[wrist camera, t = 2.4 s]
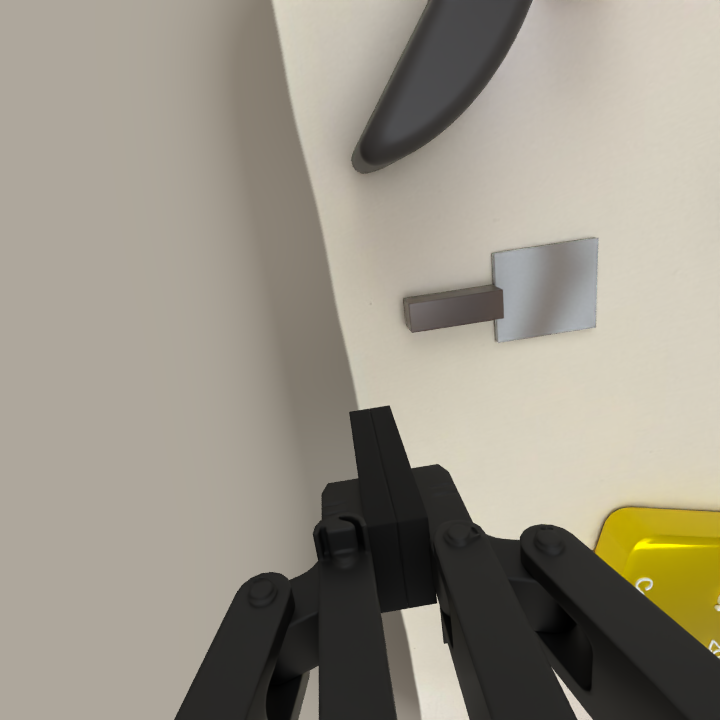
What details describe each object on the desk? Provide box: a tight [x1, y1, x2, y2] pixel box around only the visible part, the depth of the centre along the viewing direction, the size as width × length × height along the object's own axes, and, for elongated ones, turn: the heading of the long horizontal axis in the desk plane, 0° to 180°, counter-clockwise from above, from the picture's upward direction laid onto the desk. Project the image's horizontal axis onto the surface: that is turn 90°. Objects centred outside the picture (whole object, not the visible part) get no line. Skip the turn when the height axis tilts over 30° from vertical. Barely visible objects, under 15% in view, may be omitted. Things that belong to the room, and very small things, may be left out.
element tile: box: [595, 507, 720, 659], centre depth 45 cm, size 15×15×5 cm
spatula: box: [404, 238, 598, 343], centre depth 35 cm, size 15×7×2 cm, turn 98°
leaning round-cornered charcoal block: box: [351, 0, 532, 173], centre depth 27 cm, size 16×5×9 cm, turn 151°
